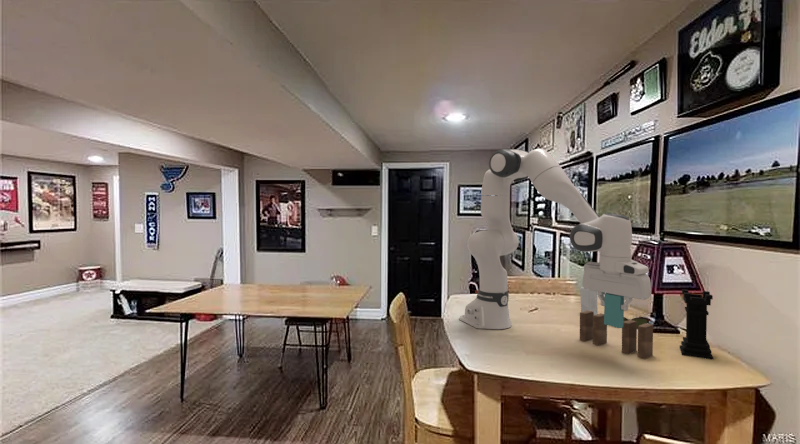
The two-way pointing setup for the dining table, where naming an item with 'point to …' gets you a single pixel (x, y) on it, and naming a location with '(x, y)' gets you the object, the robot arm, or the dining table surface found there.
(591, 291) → the skincare box
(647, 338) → the domino
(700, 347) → the chess piece
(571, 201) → the robot arm
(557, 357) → the dining table surface
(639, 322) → the sunglasses
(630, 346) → the domino
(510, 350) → the dining table surface
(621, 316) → the domino
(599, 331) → the domino
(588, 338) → the domino
